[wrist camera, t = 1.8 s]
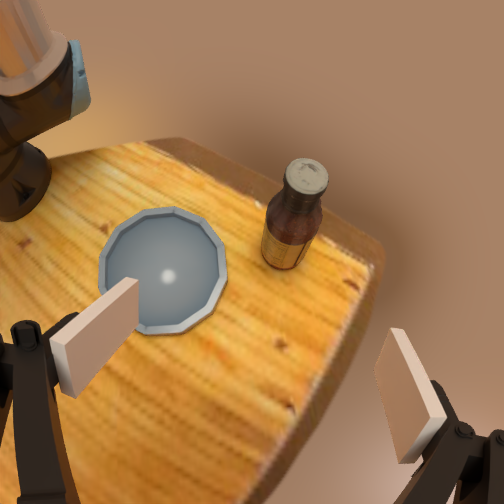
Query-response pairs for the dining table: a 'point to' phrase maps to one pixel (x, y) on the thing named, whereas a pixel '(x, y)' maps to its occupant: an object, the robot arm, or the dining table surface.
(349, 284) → the dining table surface
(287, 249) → the sauce bottle
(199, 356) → the dining table surface
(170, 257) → the serving plate
